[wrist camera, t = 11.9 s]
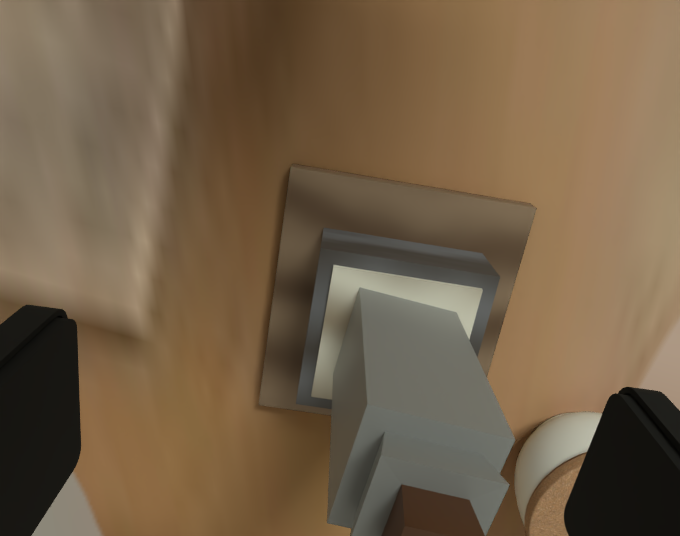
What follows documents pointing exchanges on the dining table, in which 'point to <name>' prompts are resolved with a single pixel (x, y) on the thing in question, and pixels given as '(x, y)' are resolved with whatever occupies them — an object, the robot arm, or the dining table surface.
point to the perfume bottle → (413, 425)
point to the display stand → (381, 269)
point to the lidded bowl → (551, 470)
